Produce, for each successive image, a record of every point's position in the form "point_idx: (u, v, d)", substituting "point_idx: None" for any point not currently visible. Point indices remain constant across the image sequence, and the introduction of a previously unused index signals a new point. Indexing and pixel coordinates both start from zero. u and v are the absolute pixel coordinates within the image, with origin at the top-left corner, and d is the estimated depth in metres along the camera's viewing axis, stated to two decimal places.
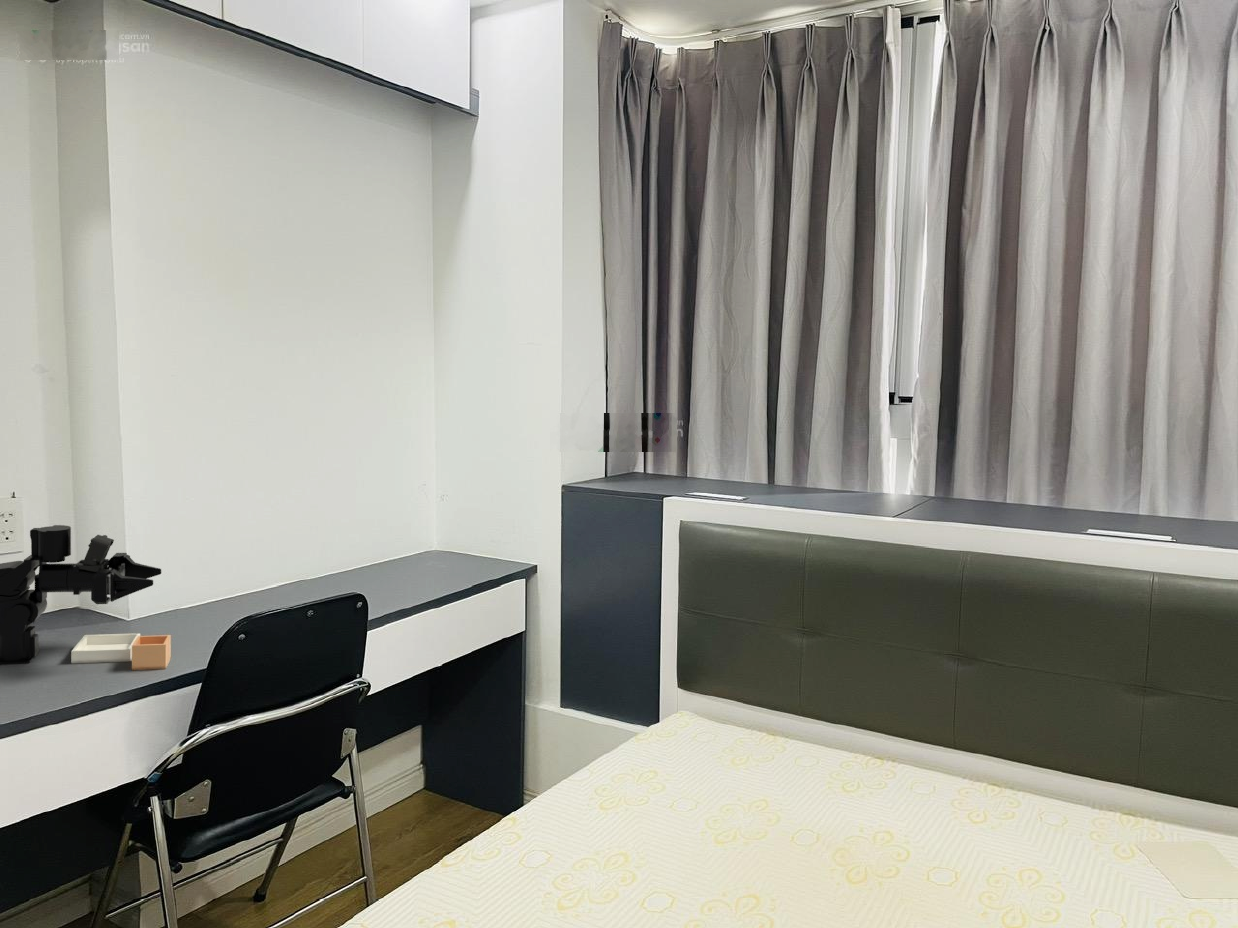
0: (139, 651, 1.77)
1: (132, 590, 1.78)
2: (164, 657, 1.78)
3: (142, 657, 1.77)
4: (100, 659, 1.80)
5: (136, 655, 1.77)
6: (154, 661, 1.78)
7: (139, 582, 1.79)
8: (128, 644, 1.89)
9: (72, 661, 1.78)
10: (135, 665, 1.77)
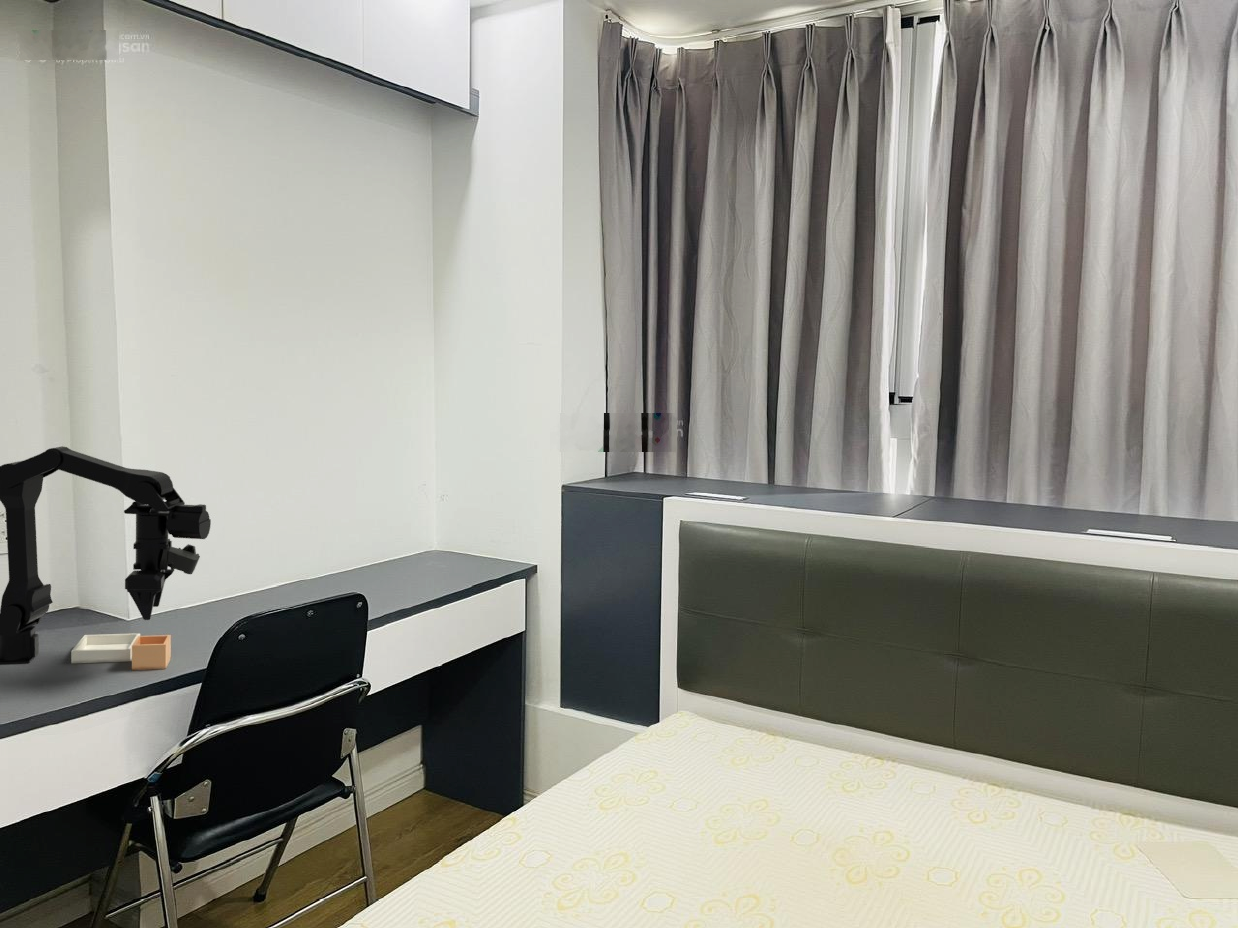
0: (139, 651, 1.77)
1: (138, 604, 1.73)
2: (164, 657, 1.78)
3: (142, 657, 1.77)
4: (100, 659, 1.80)
5: (136, 655, 1.77)
6: (154, 661, 1.78)
7: (147, 609, 1.74)
8: (128, 644, 1.89)
9: (72, 661, 1.78)
10: (135, 665, 1.77)
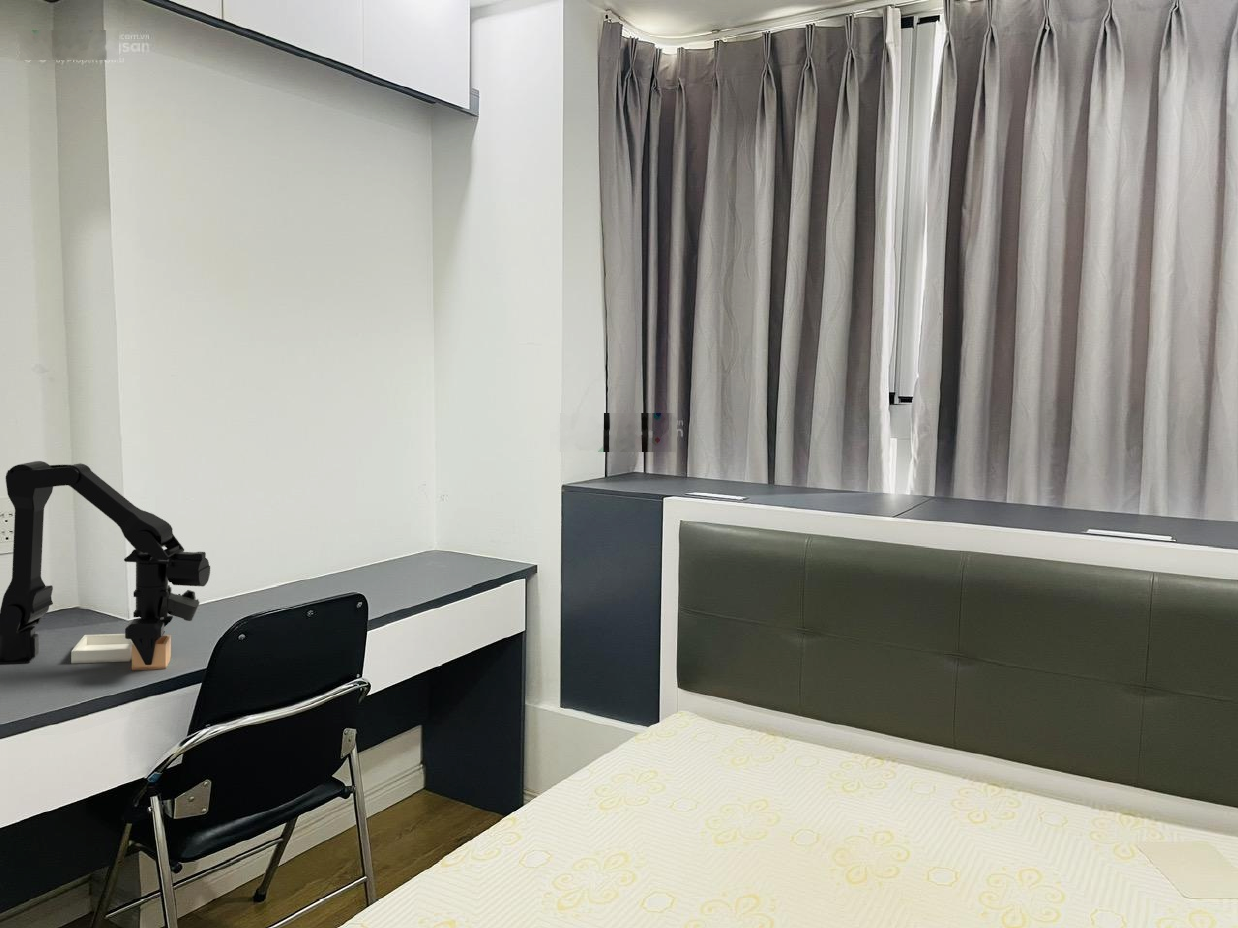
0: None
1: (140, 649, 1.75)
2: (164, 657, 1.78)
3: None
4: (100, 659, 1.80)
5: (136, 655, 1.77)
6: (154, 661, 1.78)
7: (149, 654, 1.76)
8: (128, 644, 1.89)
9: (72, 661, 1.78)
10: (135, 665, 1.77)
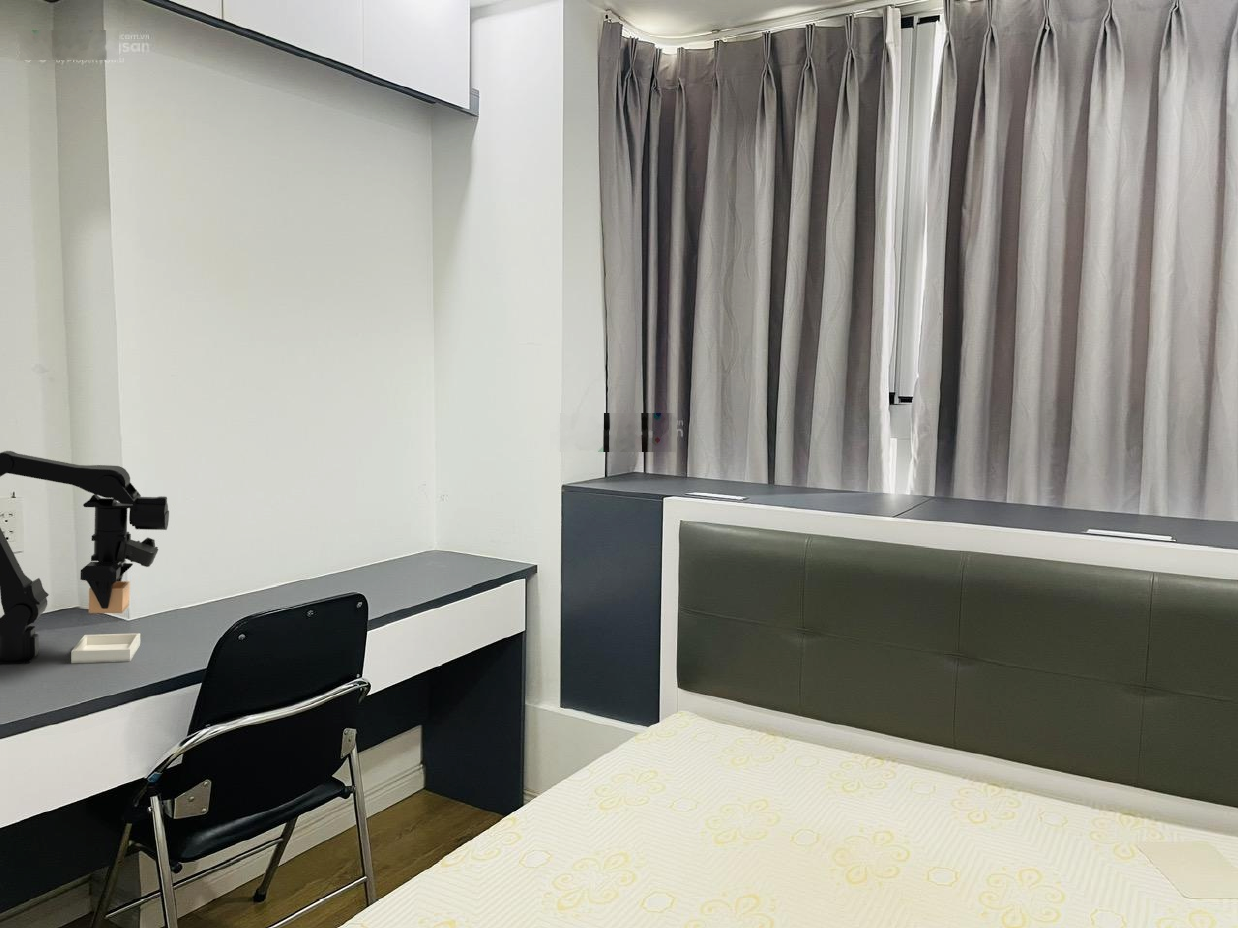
0: None
1: (96, 593, 1.78)
2: (121, 601, 1.81)
3: None
4: (100, 659, 1.80)
5: (93, 598, 1.79)
6: (111, 605, 1.80)
7: (105, 598, 1.79)
8: (128, 644, 1.89)
9: (72, 661, 1.78)
10: (92, 608, 1.79)
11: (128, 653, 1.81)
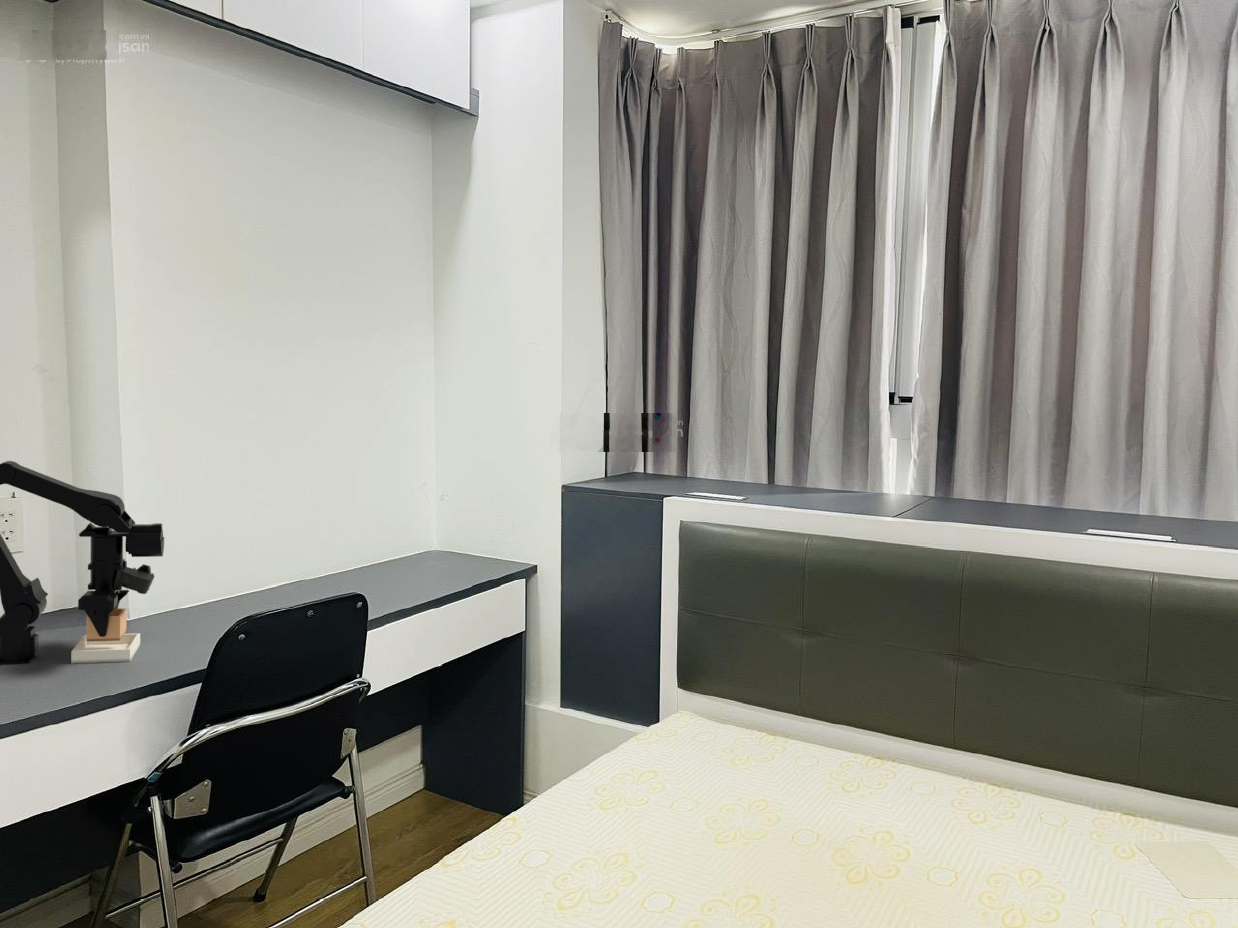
0: None
1: (94, 621, 1.79)
2: (118, 629, 1.82)
3: None
4: (100, 659, 1.80)
5: (91, 627, 1.80)
6: (109, 633, 1.81)
7: (103, 626, 1.80)
8: (128, 644, 1.89)
9: (72, 661, 1.78)
10: (90, 636, 1.80)
11: (128, 653, 1.81)
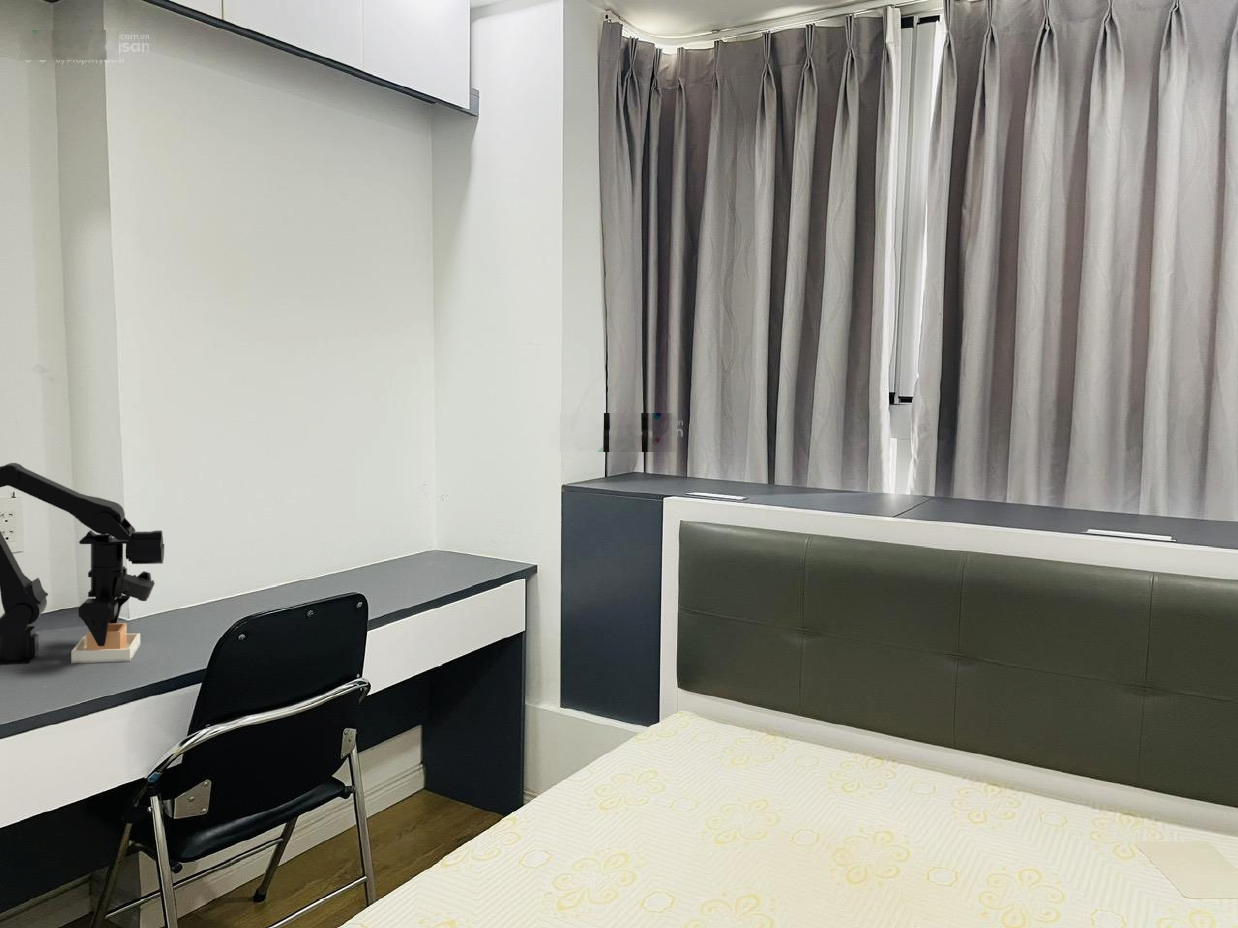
0: None
1: (92, 631, 1.78)
2: (119, 644, 1.82)
3: None
4: (100, 659, 1.80)
5: (91, 642, 1.81)
6: (109, 648, 1.82)
7: (102, 636, 1.79)
8: (128, 644, 1.89)
9: (72, 661, 1.78)
10: None
11: (128, 653, 1.81)
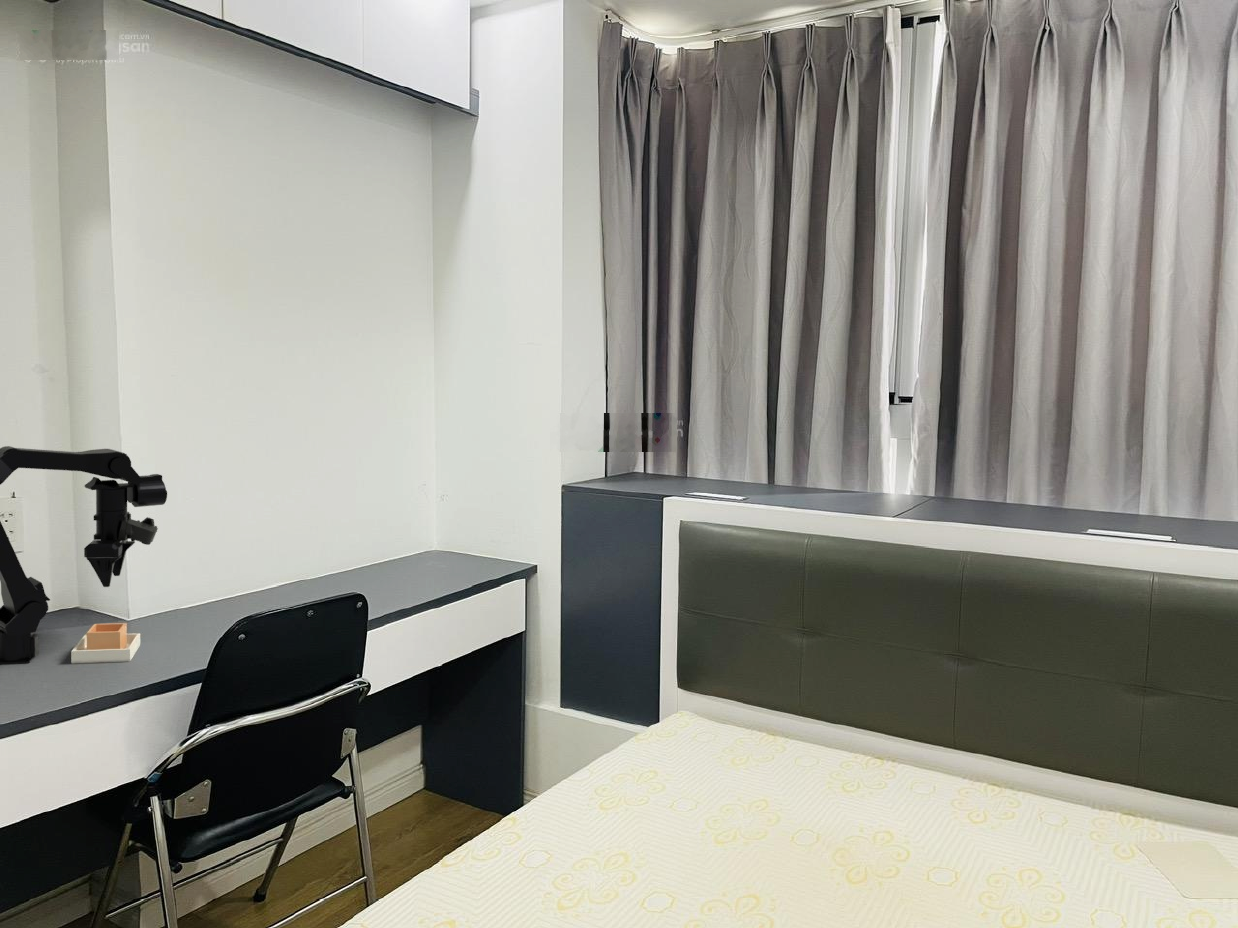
0: (94, 638, 1.81)
1: (98, 571, 1.85)
2: (119, 644, 1.82)
3: (97, 644, 1.81)
4: (100, 659, 1.80)
5: (91, 642, 1.81)
6: (109, 648, 1.82)
7: (107, 577, 1.86)
8: (128, 644, 1.89)
9: (72, 661, 1.78)
10: None
11: (128, 653, 1.81)
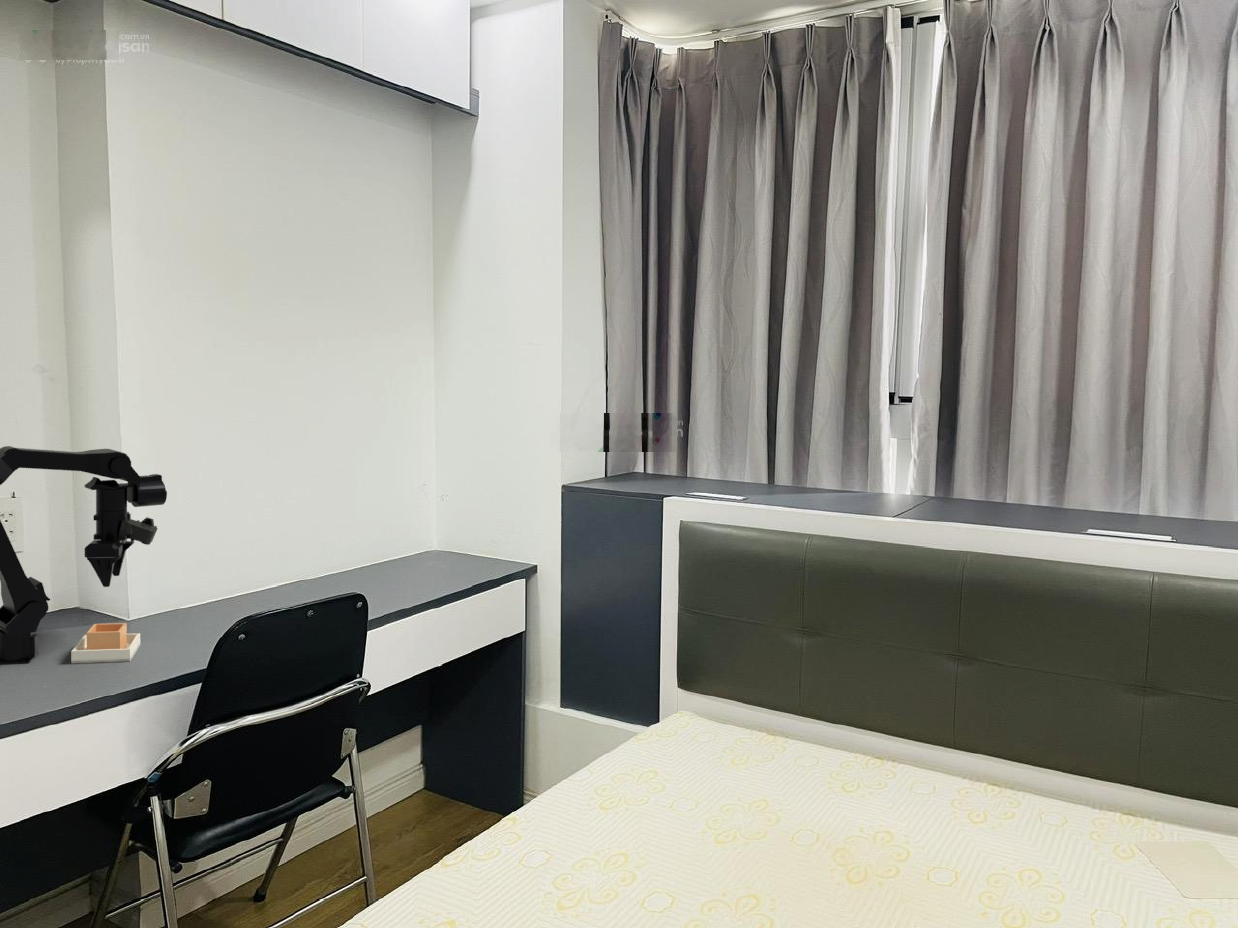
0: (94, 638, 1.81)
1: (98, 571, 1.85)
2: (118, 644, 1.82)
3: (97, 644, 1.81)
4: (100, 659, 1.80)
5: (91, 642, 1.81)
6: (109, 648, 1.82)
7: (107, 576, 1.86)
8: (128, 644, 1.89)
9: (72, 661, 1.78)
10: None
11: (128, 653, 1.81)
